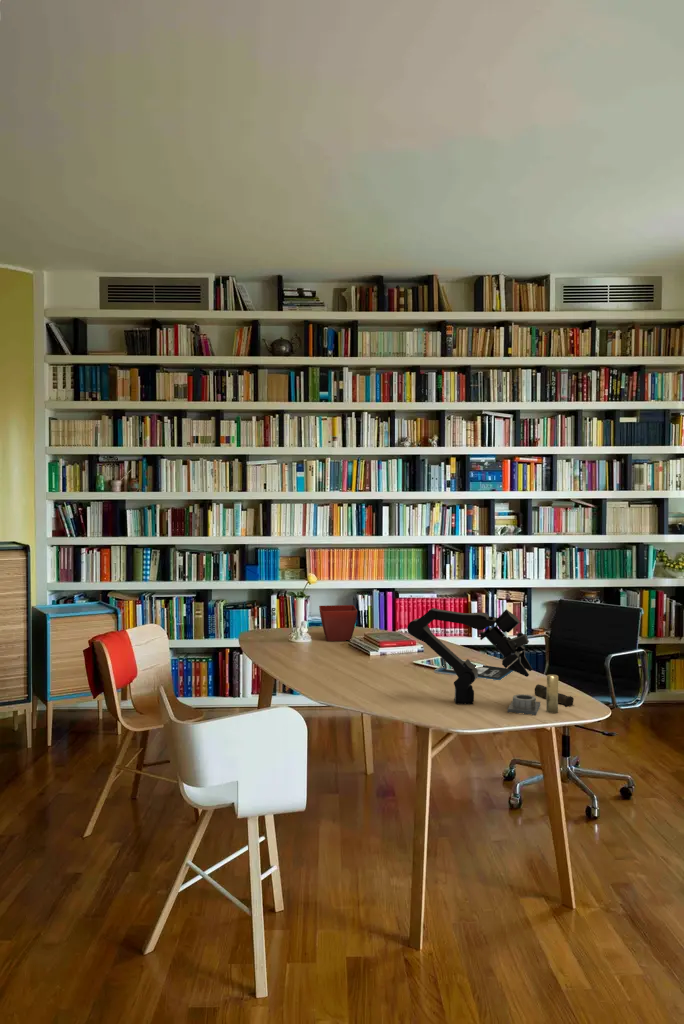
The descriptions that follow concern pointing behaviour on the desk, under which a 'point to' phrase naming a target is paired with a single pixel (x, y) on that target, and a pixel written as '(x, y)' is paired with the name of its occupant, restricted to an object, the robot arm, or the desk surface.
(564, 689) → the desk surface
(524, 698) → the plate with ring collar
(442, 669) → the sketchbook
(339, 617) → the plant pot
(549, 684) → the brass hinge pin
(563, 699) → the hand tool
